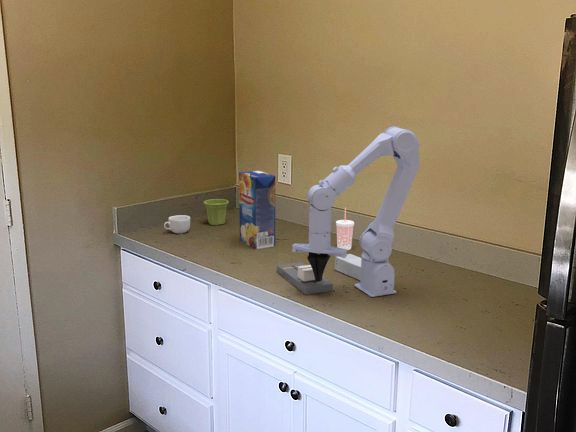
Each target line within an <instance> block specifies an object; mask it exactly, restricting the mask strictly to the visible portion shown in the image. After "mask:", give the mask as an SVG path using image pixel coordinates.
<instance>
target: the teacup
mask: <svg viewBox="0 0 576 432" xmlns="http://www.w3.org/2000/svg"><path fill="white" fill-rule="evenodd" d="M166 224H168V227H167V225H166ZM190 226H191V216H189V215H183V214H181V215H180V214H179V215H173V216H172V215H171V216H169V217H168V221H166V222H164V224H163V228H164V229H166V230H169V231H171V232H172V233H174V234H180V235H181V234H185V233H187V232H188V231H189V230H190Z"/></svg>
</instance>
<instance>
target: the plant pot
mask: <svg viewBox="0 0 576 432" xmlns="http://www.w3.org/2000/svg"><path fill="white" fill-rule="evenodd" d="M203 204H204V206H205V208H206V209H205V210H206V213H207V219H208V224H209V225H212V226H220V225H224V224H225V223H226V218H227V217H226V215H227V214H226V213H227V207H228V204H229V200H227V199H223V198H216V199H215V198H214V199H212V198H211V199H207V200H204V201H203Z"/></svg>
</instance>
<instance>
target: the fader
mask: <svg viewBox="0 0 576 432" xmlns="http://www.w3.org/2000/svg"><path fill="white" fill-rule="evenodd" d="M305 265H306V266H299V267H298V278H300V279H301V280H302V281H311V280H315V277H314V273H313V269H312V267H311V265H310V264H305ZM324 275H325V272H324V273H323V277H322V279H324V278H325V277H324Z"/></svg>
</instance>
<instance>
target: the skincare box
mask: <svg viewBox="0 0 576 432" xmlns="http://www.w3.org/2000/svg"><path fill="white" fill-rule="evenodd" d="M334 260H335V261H334V270H335V271H337V272H339V273H341V274H344V275H347V276H349V277H350V278H353V279H356V280H358V281H360V282H361V257H360V256H357V255H354V254H352V253H347V256H346V257H345V258H341V257H338V256H335V257H334Z"/></svg>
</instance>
